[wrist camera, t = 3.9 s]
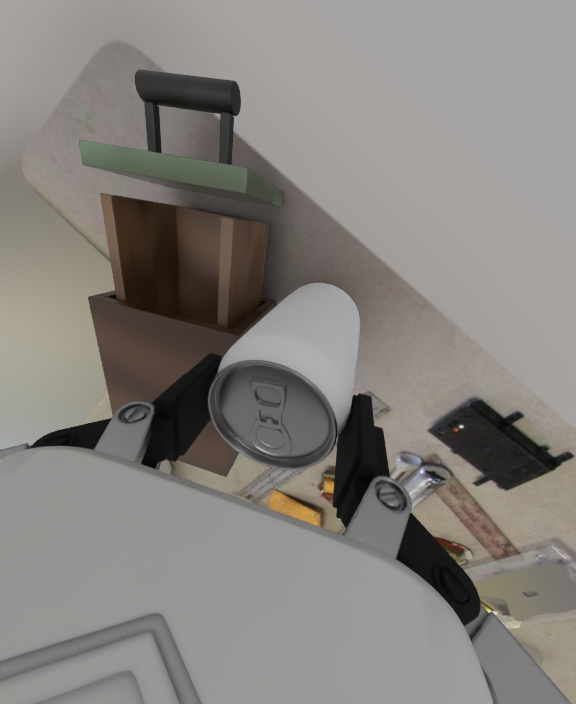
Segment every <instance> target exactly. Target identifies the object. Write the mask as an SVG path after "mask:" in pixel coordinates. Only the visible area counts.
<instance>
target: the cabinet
mask: <svg viewBox="0 0 576 704" xmlns="http://www.w3.org/2000/svg"><path fill="white" fill-rule="evenodd" d="M88 300H89V304H90V309H91V314H92V318H93V323H94V328H95V332H96V337H97V342H98V347H99V352H100V356H101V361H102V366H103V370H104V375H105V379H106V385H107V389H108V394H109V399H110V404H111V408H112V413H113V415H114V413H115V412H116V411H117V409H118V408H120V407H121V406H123V405H125V404H127V403H130V402H133V401H147V402H150V403H152V402H153V401H154V400H155V399H156V398H157V397H158V396H160V395H161V394H162V393H163V392H164V391H165V390H166V389H168V388H169V387H170V386H171V385H172V384H173V383H175V382H176V381H177V380H178V379H179V378H180V377H181V376H183V375H184V374H185V373H187V372H189V371H190V370H191V369H192V368H193V367H194V366H195V365H197V364H198V363H199V362H200V361H201V360H202V359H203V358H204V357H206V356H207V355H208V354H209V353H214V354H217V355H221V356H222V359H223V357H224V355H225V354H226V353H227V351H228V350H229V349H230V348H231V347H232V346H233V345H234V344H235V343H236V342H237V341H238V340H239V339H240V338H241V337H242V336H243V335H244V334H246V333H247V332H248V331H249V330H250V329H251V328H252V327H253V326H254V325H256V324H257V323H258V322H259V321H260V320H261V319H262V318H263V317H265V316H266V315H267V314H268V313H269V312H270V311H271V310H272V309H274V308H275V307H276V303H277V302H276V301H273V300H269V299H265V298H261V302H260V307H259V308H258V309H257V310H256V311H254V312H253V313H252V314H251V315H249V316H248V317H247V318H246V319H244V320H243V321H242V322H241V323H239V324H238V325H237V326H236V327H234V328H233V329H229V328H225V327H221V326H217V325H213V324H209V323H205V322H202V321H198V320H194V319H190V318H186V317H182V316H178V315H174V314H171V313H167V312H163V311H159V310H155V309H151V308H147V307H143V306H139V305H136V304H132V303H128V302H124V301H120V300H117V298H116V291H111V292H107V293H103V294H99V295H94V296H90V297H88ZM238 454H239V452H238V451H236V450H235V449H234V448H233V447H231V446H230V445H229V444H228V443H227V442H226V441H225V440H224V439H223V437H222V436H221V435H220V434H219V432H218V431H217V429H216V428H215V426H214V424H213V422H212V420H211V419H210V421H209V422H208V424H207V425H206V426H205V428H204V429H203V430H202V432H201V433H200V434H199V436H198V437H197V438H196V440H195V441H194V442H193V444H192V445H191V447H190V448H189V449H188V451H187V452H186V453H185V454H184V455H183V456H179V458H178V459H177V460H178V461H181V462H184V463H187V464H190V465H193V466H196V467H199V468H202V469H205V470H208V471H211V472H214V473H216V474H219V475H222V476H225V477H227V475H228V473H229V471H230V469H231V467H232V465H233V464H234V462H235V460H236V458H237V456H238Z"/></svg>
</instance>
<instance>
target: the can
mask: <svg viewBox="0 0 576 704" xmlns="http://www.w3.org/2000/svg"><path fill="white" fill-rule="evenodd" d="M359 331H360V318H359V313H358V310H357V307H356V305H355V303H354V302H353V300H352V299H351V298H350V296H349V295H348V294H347V293H345V292H344V291H343V290H341V289H340V288H338V287H336V286H333V285H330V284H326V283H311V284H307V285H304V286H301V287H299V288H298V289H296V290H295V291H293V292H292V293H291V294H290V295H288V296H287V297H286V298H285V299H284V300H283V301H282V302H280V303H279V304H278V305H277V306H276V307H275V308H274V309H272V310H271V311H270V312H269V313H268V314H267V315H266V316H265V317H263V318H262V319H261V320H260V321H259V322H258V323H257V324H256V325H254V326H253V327H252V328H251V329H250V330H249V331H248V332H247V333H246V334H244V335H243V336H242V337H241V338H240V339H239V340H238V341H237V342H236V343H235V344H234V345H233V346H232V347H231V348H230V349H229V350H228V351H227V353H226V354H225V355H224V357H223V359H222V361H221V363H220V366H219V368H218V372H217V374H216V375H215V377H214V378H213V379H212V381H211V383H210V385H209V388H208V392H207V408H208V412H209V415H210V418H211V420H212V422H213V424H214V426H215V428H216V429H217V431H218V432H219V434H220V435H221V436H222V437H223V439H224V440H225V441H226V442H227V443H228V444H229V445H230V446H231V447H233V448H234V449H235V450H236V451H238V452H239V453H240V454H242V455H243V456H245V457H247V458H249V459H250V460H252V461H255V462H257V463H259V464H262V465H265V466H268V467H272V468H276V469H283V470H298V469H304V468H308V467H311V466H314V465H316V464H318V463H319V462H321V461H322V460H324V459H325V458H326V457H327V456H328V455H329V454H330V452H331V451H332V449H333V447H334V445H335V442H336V439H337V437H338V435H339V434H340V433H341V432H342V430H343V429H344V427H345V425H346V423H347V421H348V418H349V415H350V411H351V405H352V398H353V390H354V381H355V371H356V362H357V352H358V342H359Z"/></svg>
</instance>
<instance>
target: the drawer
mask: <svg viewBox="0 0 576 704" xmlns="http://www.w3.org/2000/svg"><path fill="white" fill-rule="evenodd" d="M135 85H136V89H137V92H138V94H139V96H140V98H141V99H142V100H143V101H144V102H145V116H146V129H147V143H148V151H145V150H139V149H133V148H127V147H121V146H115V145H109V144H103V143H97V142H91V141H85V140H79V146H80V152H81V157H82V163H83V165H86V166H90V167H94V168H97V169H101V170H105V171H109V172H113V173H117V174H120V175H124V176H128V177H132V178H136V179H140V180H143V181H147V182H151V183H155V184H159V185H163V186H166V187H171V188H177V189H182V190H187V191H193V192H198V193H204V194H209V195H214V196H220V197H225V198H231V199H236V200H241V201H247V202H252V203H258V204H263V205H268V206H274V207H279V208H281V206H282V198H283V190H281V189H280V188H278V187H276V186H275V185H273V184H272V183H270V182H269V181H267V180H266V179H264V178H262V177H261V176H259V175H258V174H256V173H255V172H253V171H252V170H250V169H248V168H247V167H241V166H235V165H231V164H232V145H233V125H234V117H233V116H237V115H238V114H239V112H240V106H241V98H240V90H239V87H238V84H237V83H236V82H235V81H230V80H221V79H213V78H205V77H197V76H189V75H180V74H172V73H164V72H155V71H147V70H138V71H137V72H136V74H135ZM157 105H161V106H168V107H175V108H182V109H189V110H196V111H204V112H211V113H218V114H221V121H220V152H219V163H217V162H211V161H205V160H199V159H193V158H187V157H181V156H175V155H169V154H163V153H161V135H160V117H159V107H158V106H157ZM100 196H101V202H102V208H103V215H104V221H105V228H106V234H107V240H108V247H109V253H110V259H111V266H112V272H113V278H114V285H115V291H116V298H117V300H120V301H124V302H128V303H132V304H136V305H139V306H143V307H147V308H151V309H155V310H159V311H163V312H167V313H171V314H174V315H178V316H182V317H186V318H190V319H194V320H198V321H202V322H205V323H209V324H213V325H217V326H221V327H225V328H229V329H233V328H234V327H236V326H237V325H238V324H239V323H241V322H242V321H243V320H244V319H246V318H247V317H248V316H249V315H251V314H252V313H253V312H254V311H256V310H257V309H258V308H259V307H260V302H261V294H262V285H263V277H264V269H265V261H266V252H267V244H268V236H269V227H270V224H268V223H263V222H258V221H253V220H248V219H243V218H238V217H233V216H227V215H222V214H217V213H212V212H207V211H202V210H197V209H192V208H186V207H181V206H176V205H171V204H165V203H159V202H153V201H147V200H140V199H134V198H128V197H122V196H116V195H110V194H104V193H100Z"/></svg>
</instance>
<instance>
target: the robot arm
mask: <svg viewBox="0 0 576 704" xmlns="http://www.w3.org/2000/svg"><path fill="white" fill-rule="evenodd" d="M221 361H222V356H221V355H217V354H214V353H209V354H208V355H207V356H206V357H204V358H203V359H202V360H201V361H200V362H199V363H198V364H197V365H195V366H194V367H193V368H192V369H191V370H190V371H189V372H187V373H185V374H184V375H183V376H181V377H180V378H179V379H178V380H177V381H176V382H175V383H173V384H172V385H171V386H170V387H169V388H168V389H166V390H165V391H164V392H163V393H162V394H161V395H160V396H158V397H157V398H156V399H155V400H154V401H153V402H152V403H150V402H147V401H133V402H130V403H127V404H125V405H123V406H121V407H120V408H118V409H117V411H116V412H115V413H114V415H113V417H112V418H110V419H106V420H102V421H97V422H93V423H88V424H84V425H80V426H75V427H71V428H66V429H62V430H58V431H55V432H51V433H49V434H47V435H45V436H43V437H42V438H40V439H39V440H37V441H36V442H35V443H34V444H33V445H32V446H29V445H28V443H27V444H22V445H19V446H15V447H11V448H7V449H3V450H0V704H571V702H570V701H569V700H568V699H567V698H566V697H565V695H564V694H563V693H562V692H561V691H560V690H559V688H558V687H557V686H556V685H555V684H554V683H553V681H552V680H551V679H550V678H549V677H548V676H547V675H546V673H545V672H544V671H543V670H542V669H541V668H540V666H539V665H538V664H537V663H536V662H535V661H534V659H533V658H532V657H531V656H530V655H529V654H528V653H527V651H526V650H525V649H524V648H523V647H522V646H521V644H520V643H519V642H518V641H517V640H516V639H515V637H514V636H513V635H512V634H511V633H510V632H509V630H508V629H507V628H506V627H505V626H504V625H503V623H502V622H501V621H500V620H499V619H498V618H497V617H496V615H495V614H494V613H493V612H490V613H488V612H487V611H486V610H485V608H484V607H483V606H482V605H481V604H480V598H479V595H478V592H477V589H476V588H475V586H474V584H473V582H472V580H471V579H470V578H469V576H468V575H467V574H466V573H465V571H464V570H463V569H462V568H461V567H460V566H459V565H458V564H457V562H456V561H455V560H454V559H453V558H452V557H451V556H450V555H449V554H448V553H447V551H446V550H445V549H444V548H443V547H442V546H441V545H440V544H439V543H438V542H437V541H436V539H435V538H434V537H433V536H432V535H431V534H430V533H429V532H428V531H427V530H426V528H425V527H424V526H423V525H422V524H421V523H420V522H419V521H418V520H417V519H416V517H415V516H414V515H413V514H412V513H411V507H412V502H411V498H410V496H409V494H408V492H407V491H406V489H405V488H404V487H403V486H402V485H401V484H400V483H399V482H397V481H396V480H394V479H392V478H390V475H389V468H388V461H387V454H386V447H385V440H384V433H383V429H382V428H379V427H376V426H374V420H373V410H372V400H371V396H367V395H363V394H360V393H359V394H358V396H356V395H354V396H353V398H352V405H351V411H350V415H349V418H348V421H347V423H346V425H345V427H344V429H343V430H342V432H341V433H340V434H339V436H338V442H337V455H336V468H335V481H334V495H333V507H335V508H337V516H336V517H337V518H340V519H341V521H342V523H343V524H344V526H345V527H346V530H345V532H344V534H343V535H340V534H338V533H335V532H332V531H330V530H327V529H324V528H322V527H319V526H316V525H313V524H311V523H308V522H305V521H302V520H299V519H297V518H294V517H291V516H288V515H285V514H282V513H280V512H277V511H274V510H271V509H268V508H266V507H263V506H260V505H257V504H254V503H251V502H249V501H246V500H243V499H240V498H237V497H234V496H232V495H229V494H226V493H223V492H220V491H217V490H214V489H212V488H209V487H206V486H203V485H200V484H197V483H194V482H191V481H189V480H186V479H183V478H180V477H177V476H174V475H171V474H168V473H165V472H162V471H159V469H160V465H161V462H162V461H165V460H166V459H168V460H171V461H174V462H176V460H177V459H178V458H179V456H183V455H184V454H185V453H186V452H187V451H188V449H189V448H190V447H191V445H192V444H193V442H194V441H195V440H196V438H197V437H198V436H199V434H200V433H201V432H202V430H203V429H204V428H205V426H206V425H207V424H208V422H209V421H210V419H211V418H210V415H209V412H208V408H207V392H208V388H209V385H210V383H211V381H212V379H213V378H214V377H215V375H216V374H217V372H218V368H219V366H220V363H221Z"/></svg>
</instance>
